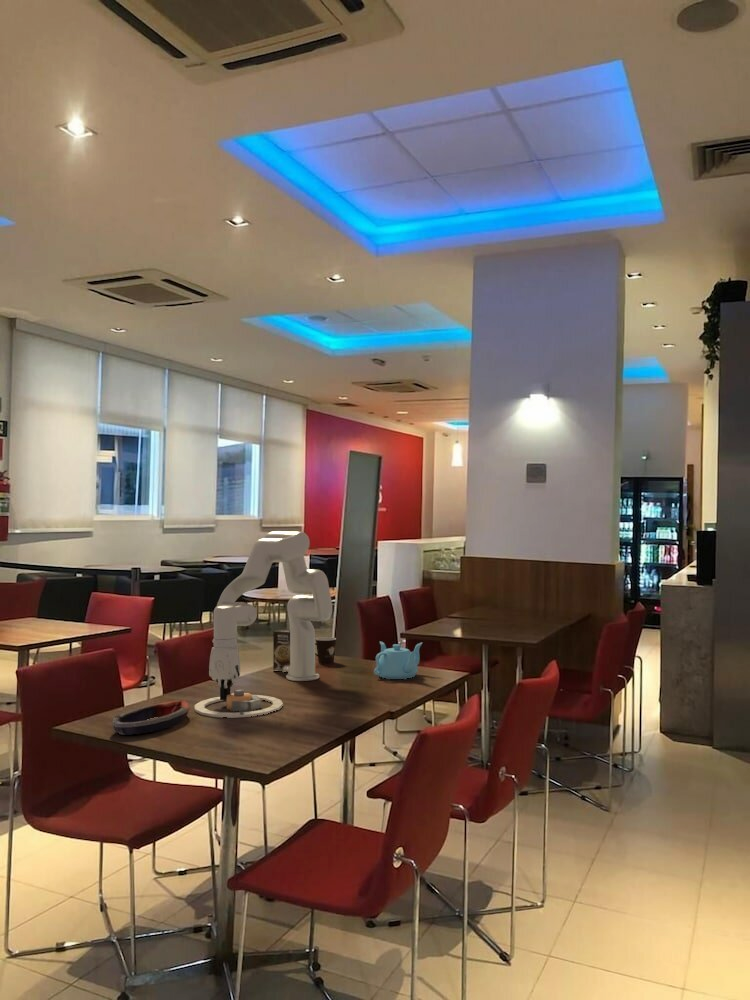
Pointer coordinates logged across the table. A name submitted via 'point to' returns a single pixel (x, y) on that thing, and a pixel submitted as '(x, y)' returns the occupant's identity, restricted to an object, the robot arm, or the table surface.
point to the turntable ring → (203, 711)
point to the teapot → (397, 662)
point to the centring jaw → (247, 704)
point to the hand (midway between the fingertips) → (225, 699)
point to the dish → (138, 717)
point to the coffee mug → (325, 649)
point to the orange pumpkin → (237, 697)
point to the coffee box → (281, 649)
